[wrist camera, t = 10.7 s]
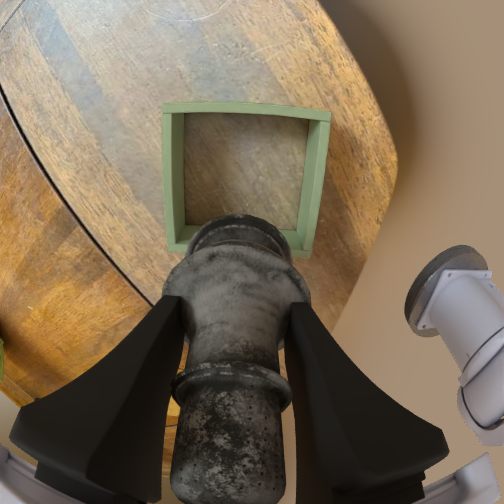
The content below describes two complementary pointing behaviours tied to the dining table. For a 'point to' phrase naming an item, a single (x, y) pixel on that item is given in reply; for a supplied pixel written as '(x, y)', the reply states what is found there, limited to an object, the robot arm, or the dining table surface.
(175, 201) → the green square tray
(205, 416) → the chess piece
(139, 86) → the dining table surface
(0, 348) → the teapot
